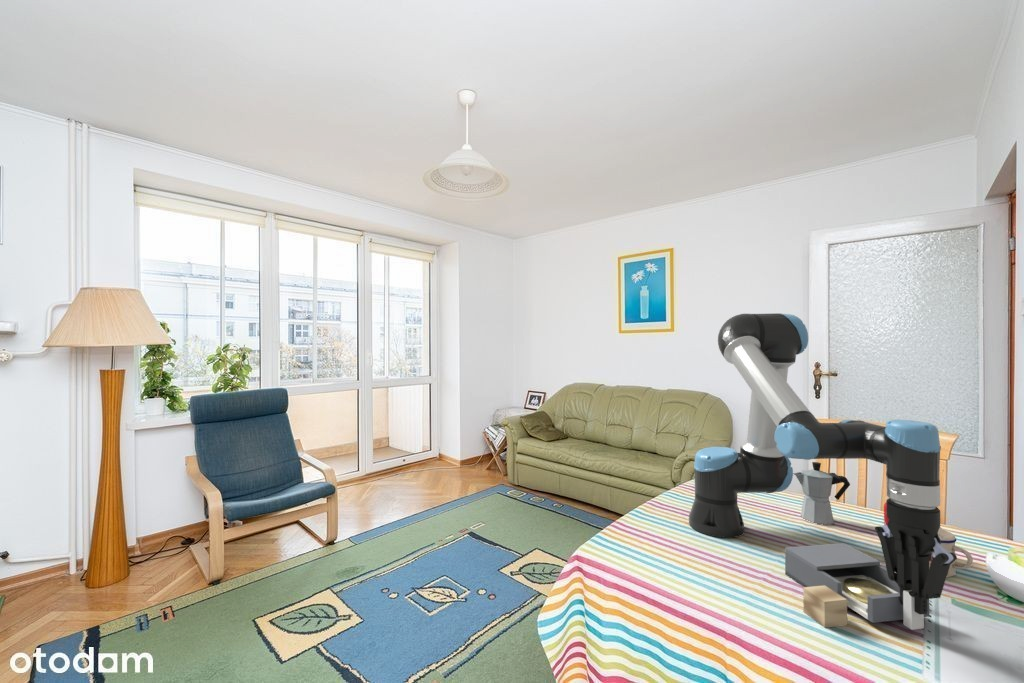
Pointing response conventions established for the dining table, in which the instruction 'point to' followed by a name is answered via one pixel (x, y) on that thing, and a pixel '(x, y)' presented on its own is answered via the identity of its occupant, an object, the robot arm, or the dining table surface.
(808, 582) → the gray drawer cabinet
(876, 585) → the disc
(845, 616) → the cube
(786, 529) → the dining table surface
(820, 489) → the coffee maker
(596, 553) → the dining table surface
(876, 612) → the tray
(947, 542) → the teacup with lid
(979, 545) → the dining table surface
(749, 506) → the dining table surface
